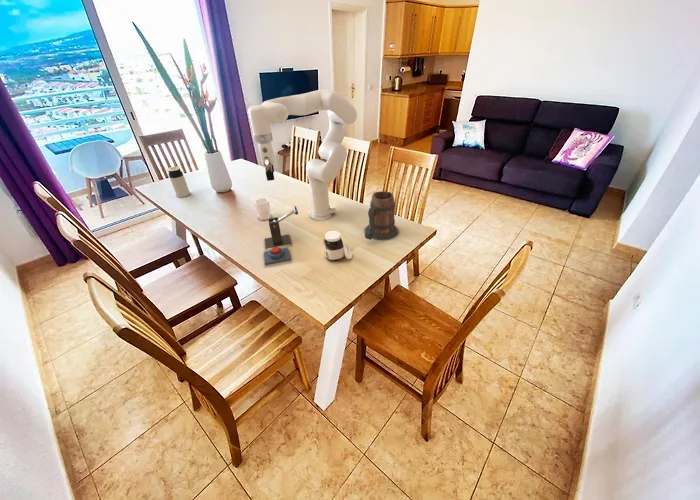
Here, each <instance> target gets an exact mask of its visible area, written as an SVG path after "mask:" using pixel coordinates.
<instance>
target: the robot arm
mask: <svg viewBox="0 0 700 500" xmlns="http://www.w3.org/2000/svg"><path fill="white" fill-rule="evenodd" d="M247 111H248V116H249V121H250V125H251V129H252V134H253V135H252V136H253V141H254V143H255V144H257V145H258V150H259V153H260V159H261V162H262V166H263V167H264V168H265V170H264V171H265V177H266V181H268V182H269V181H275V175H274V173H275V168H274V166H275V164H276V162H275V161H276V160H275V155H274V150H273V145H272V142H273V141H274V138H273V133H272V128H271V124H282V123H284V122H286V121H287V119H288V117H289V116H307V115H311V114H315V113H319V112H321V111H327V117H328V121H329V128H328V131H327V133H326V135H325V137H324V138H323V140H322V142H321V144H320V146H319V147H318V155H319V157H320V158H321V159H322V160H321V159H319V158H312V159H310V160H308V161H307V163H306V165H305V172H306V175H307V178H308V183H309V190H310V191H309V192H310V200H311V210H312V211H310V213H309V217H311V218H312V219H315V220H325V219H328V218H331V217H332V215H333V214H337V213H338V209H337V208H336V207H331V205H330V197H329V185H328V184H330V183H332V182H333V181H334V180H335V179H336V178H337V176H338V175H339V173H340V171H341V169H342V168H343V166H344V164H345V162H346V160H347V157H348V151H347V148H346V147H345V145H343V144H342V142H343V140H344V138H345V135H346V130H345V129H346V128H345V125H346V126H347V125H348V126H349V125H350V126H351V125H353V124H354V123H355V122H356V120H357V118H358V111H357V109H356V108H355V106H354V105H353V104H352V103H351V102H350V101H349V100H347V98H345V97H344V96H343V95H342V94H341V93H340V92H338V91H337V90H333V89H326V88H322V89H317V90H313V91H309V92H305V93H300V94H294V95H293V94H292V95H288V96H280V97H275V98H271V99H268V100H265V101H263V102H262V103H260V104H255V105H250V106H249V107H248V110H247ZM324 160H325V161H324Z"/></svg>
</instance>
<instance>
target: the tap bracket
mask: <svg viewBox="0 0 700 500" xmlns="http://www.w3.org/2000/svg"><path fill="white" fill-rule="evenodd" d="M274 219H275V220H278V219H279V217H277V216H276V217H270V218H269V219H267V220H268V227H269V231H270V235H271V236H270V237H265V238H264V246H265V249H272V248H274V247H282V246H288V245H292V243H291V242H292V241H291V237H290V234H284V235H283V234H282V232H281V228H280V222H279V221H276V222H271V221H273V220H274Z"/></svg>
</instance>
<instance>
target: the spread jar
mask: <svg viewBox="0 0 700 500" xmlns="http://www.w3.org/2000/svg"><path fill="white" fill-rule="evenodd" d="M323 249H324V254H325V258H326V259H327V260H328V261H330V262H336V261H340V260H341V259H343V258H344V256H345V258H346V259H347V260H350V259H351V260H352V257H353V256H352V250H351V248H350V245H349V244H348V243H346V244H344V242H343V239H342V235H341V233H340V232H339V231H338V230H330V231H327V232H326V233H324V239H323Z"/></svg>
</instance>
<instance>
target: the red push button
mask: <svg viewBox="0 0 700 500" xmlns="http://www.w3.org/2000/svg"><path fill="white" fill-rule="evenodd" d="M279 248H280V246H278V247H272V248H270V250H271V251H272V254H279V253H280V249H279Z"/></svg>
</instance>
